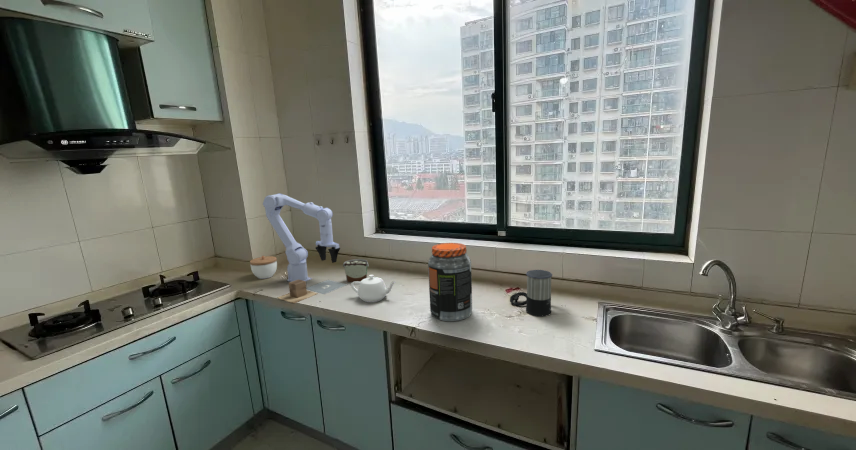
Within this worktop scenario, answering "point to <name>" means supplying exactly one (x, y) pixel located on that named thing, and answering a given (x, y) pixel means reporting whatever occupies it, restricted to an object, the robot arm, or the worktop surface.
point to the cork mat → (295, 300)
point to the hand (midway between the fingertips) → (328, 261)
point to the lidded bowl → (264, 266)
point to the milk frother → (536, 293)
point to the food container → (355, 270)
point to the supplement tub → (450, 282)
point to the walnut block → (297, 288)
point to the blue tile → (326, 286)
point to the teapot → (372, 289)
